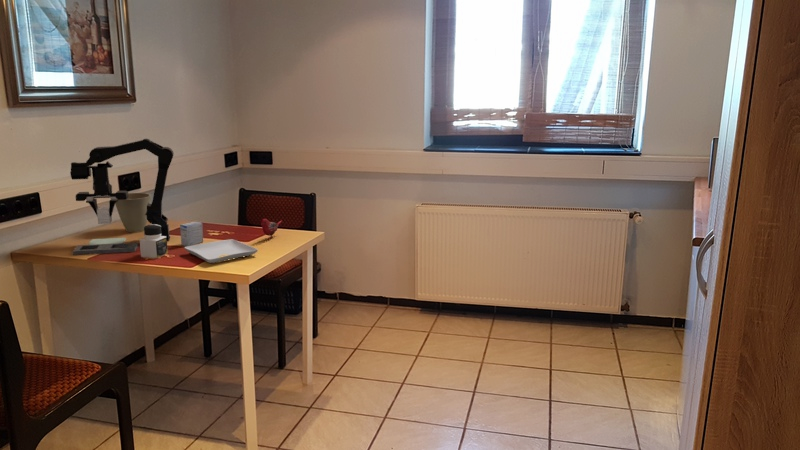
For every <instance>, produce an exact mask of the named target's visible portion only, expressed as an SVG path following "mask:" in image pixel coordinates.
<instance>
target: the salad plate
mask: <svg viewBox="0 0 800 450" xmlns="http://www.w3.org/2000/svg"><path fill="white" fill-rule="evenodd" d="M183 248H184V250H185V251H186V252H188V253H190V254H192V255H193V256H196V257H197V258H199V259H201V260H203V261H205V262H207V263H210V264H216V263H215V262H218V263H220V262H219V261H223V262H225V261H224V260H228V259H233V258H238V257H243V256H247V257H250V256H253V255H255V254H256V253H257V252H258V251H259V249H258V248H256V247H254V246H251V245H249V244H246V243H244V242H241V241H238V240H237V239H232V238H229V239H223V240H216V241H210V242H202V243H198V244H195V245H191V246H184V247H183ZM228 254H229V255H228ZM221 255H227V256H223V257H219V256H221ZM249 255H250V256H249ZM243 258H244V257H243ZM238 259H239V258H238ZM233 260H234V259H233ZM228 261H229V260H228Z"/></svg>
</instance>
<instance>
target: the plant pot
mask: <svg viewBox="0 0 800 450" xmlns="http://www.w3.org/2000/svg"><path fill="white" fill-rule="evenodd" d="M128 195H129V197H128V198H127V199H124V200H118V202H116V203H115V207H116V210H117V213H118V216H119V218H120V221H121V223H122V225H123V227H124V229H125V231H126V232H127V233H140V232H144V227H145V226H147V222H148V220H147V215H145V214H146V212H147V205H148V203H149V204H151V193H146V192H128Z"/></svg>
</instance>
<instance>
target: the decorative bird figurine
mask: <svg viewBox="0 0 800 450" xmlns="http://www.w3.org/2000/svg"><path fill="white" fill-rule="evenodd" d="M282 222H283V220H280V221H279V222H277V223H276V222H274V221H269V220H268V219H267V218H263V219H261V221H260V226H261V228H262V232H263V233H264V235H265V236H269V237H268V238H267V239H266V240H268V241H269V240H271V239H272V238H273V235H274V234H275V233H276V232H277V231H278V228H279V226H280V225H281V223H282Z"/></svg>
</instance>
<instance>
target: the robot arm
mask: <svg viewBox="0 0 800 450" xmlns="http://www.w3.org/2000/svg"><path fill="white" fill-rule="evenodd" d="M142 150H147V151H148V152H149V153H151V154H152V155H154V156H156V157H157V169H158V170H157V174H156V181H155V185H154V190H153V191H154V192H153V197H152V201H151V203H150V204H149V203H148V205H147V212H146V214H145V215H147V222H148V223H149V224H156V225H160V226H161V236H166V237H167V242H168V241H170V239H171V236H170V227H169V224H168V221H169V218H168V217H167V216H166V215H164V214H163V198H164V192H165V187H166V181H167V176H168V171H169V167H170V165H171V163H172V161H173V158H174V155H175V154H174V151H173V149H172V148H171V147H168V146H163V145H160V144H158V143H156V142H155V141H153V140H151V139H149V138H143V139H141V140H137V141H132V142H126V143H122V144H119V145H113V146H96V147H94V148H92V149H91V150H90V152H89V156H88V157H89V158H88V159H87V160H86V161H85V162H77V161H76V162H73V161H72V162H71V163H70V171H69V172H70V174H69V175H70V178H71V179H72V180H74V181H76V180H88V179H89V177H92V190H93V192H94V193H90V192H89V191H79V192H78V193H76V194H75V201H76V202H84V201H85V203H87V204H89V206H90V207H91V208H92V210H93V211H94V213H95V215H96V216H97V209H98V208H99V206H98V199H109V198H110V200H109V206H108V207H110V216H112V215H113V212H114V210H115V209H114V207H115V206H116V204H115V203H116V202H118V200H124V199H127V198H128V197H129V195H128V193H129V192H128V191H127V190H117V191H116V192H113V185H112V184H110V180H109V179H110V178H109V168H111V169H112V168H113V166H114V165H113V164H112V163H110V161H109V160H110V159H113V158H114V157H117V156H120V155H124V154H128V153H129V154H130V153H133V152H138V151H142ZM107 160H108V161H107ZM105 161H106V162H105ZM104 162H105V163H104ZM95 163H96V165H94V164H95Z"/></svg>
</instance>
